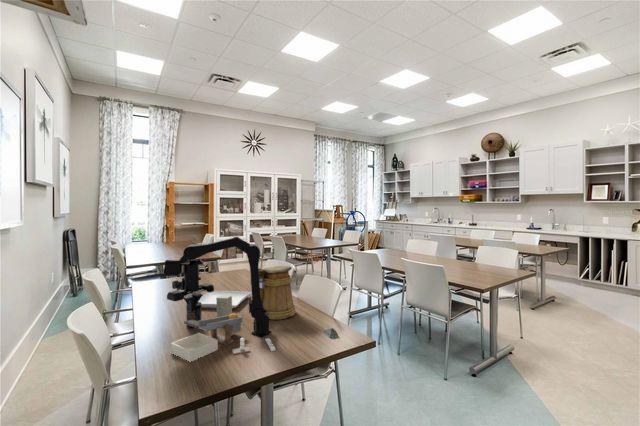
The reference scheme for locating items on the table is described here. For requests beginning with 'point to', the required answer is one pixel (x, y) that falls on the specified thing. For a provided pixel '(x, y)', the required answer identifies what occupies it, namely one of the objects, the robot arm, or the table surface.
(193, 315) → the supplement container
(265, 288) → the tankard
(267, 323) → the robot arm
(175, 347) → the white open tray
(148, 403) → the table surface
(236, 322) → the tipping lever
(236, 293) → the square plate
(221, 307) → the skincare box
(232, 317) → the ball
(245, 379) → the table surface
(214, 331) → the pivot stand
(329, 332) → the game pieces
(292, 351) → the table surface
